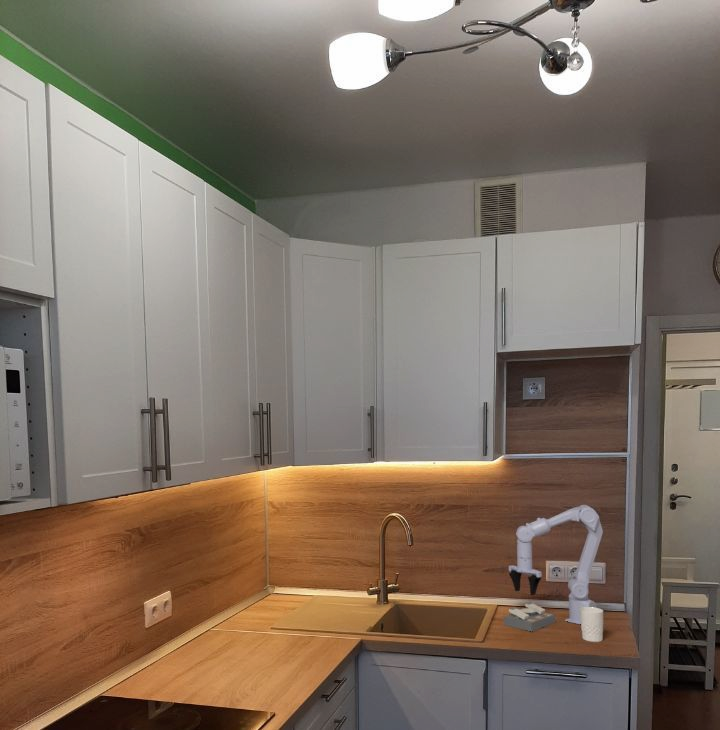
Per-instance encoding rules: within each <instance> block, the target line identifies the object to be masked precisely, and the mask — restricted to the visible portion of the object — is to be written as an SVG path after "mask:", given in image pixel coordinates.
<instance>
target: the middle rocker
mask: <svg viewBox="0 0 720 730" xmlns="http://www.w3.org/2000/svg"><path fill="white" fill-rule="evenodd" d="M518 609H519V610H520V611H522V612H524V613H533V612H536V611H537V608H528V607H526V608H524V607H523V608H518Z"/></svg>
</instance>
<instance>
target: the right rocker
mask: <svg viewBox="0 0 720 730" xmlns="http://www.w3.org/2000/svg"><path fill="white" fill-rule="evenodd" d="M525 607H526V608H537V611H536V612H537V613H539V614H543V613H546V609H545V608H543V607H541V606H539V605H537V604H535V603H534V602H532V601H529V602H526V603H525Z"/></svg>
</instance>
